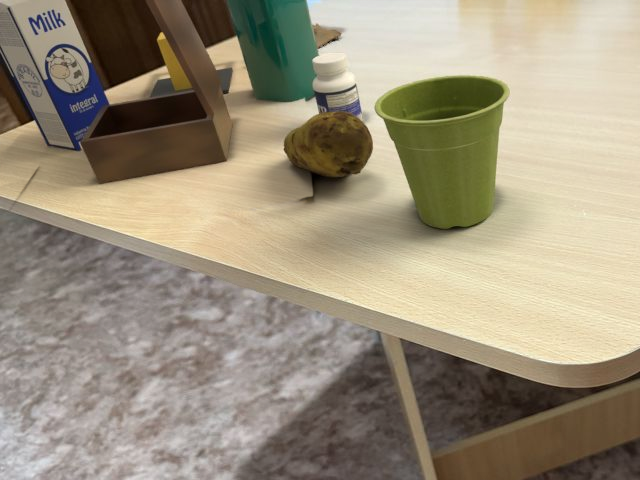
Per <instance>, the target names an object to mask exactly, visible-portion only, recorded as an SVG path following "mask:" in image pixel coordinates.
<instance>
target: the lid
mask: <svg viewBox="0 0 640 480" xmlns="http://www.w3.org/2000/svg"><path fill="white" fill-rule="evenodd" d="M145 2H146V4H147V6H148V8H149V10H150V12H151V13H152V15H153V17H154V19H155V21H156V22H157V25H158V27H159V28H160V30H161V32H163V34H164V36H165V38H166V39H167V41H168V43H169V45H170V47H171V49H172V51H173V52H174V54H175V56H176V58H177V60H178V62H179V64H180V65H181V67H182V69H183V71H184V73H185V75H186V77H187V78H188V80H189V82H190V84H191V86H192V88H193V90H194V91H195V93H196V95H197V97H198V99H199V101H200V103H201V104H202V106H203V108H204V110H205V112H206V114H207V116H210V115H213V114H214V113H215V109H216V104H217V100H218V95H219V91H220V87H221V82H222V80H221V78H220V76H219V74H218V72H217V70H218V69H216V66H215V64H214V62H213V61H212V58H211V57H210V55H209V52H208V50H207V49H206V47H205V44H204V42H203V40H202V39H201V37H200V35H199V33H198V30H197V29H196V26H195V25H194V23H193V21H192V19H191V16H190V15H189V13H188V11H187V9H186V7H185V5H184V4H183V1H182V0H145Z"/></svg>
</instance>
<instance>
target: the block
mask: <svg viewBox="0 0 640 480" xmlns="http://www.w3.org/2000/svg"><path fill="white" fill-rule="evenodd" d="M156 41H157V45H158V47H159V50H160V53H161V55H162V58H163V61H164V64H165V66H166V69H167V72H168V76H169V78H171V80H172V83H173V86H174V89H175V91H179V90H185V89H191V88H192V86H191V84H190V82H189V80H188V78H187V77H186V75H185V73H184V71H183V69H182V67H181V65H180V64H179V62H178V60H177V58H176V56H175V54H174V52H173V51H172V49H171V47H170V45H169V43H168V41H167V39H166V38H165V36H164V34H163V32H162V31H161V32H160V33H159V34H158V36H157V39H156Z"/></svg>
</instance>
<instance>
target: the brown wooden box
mask: <svg viewBox="0 0 640 480" xmlns="http://www.w3.org/2000/svg"><path fill="white" fill-rule="evenodd" d="M233 127H234V125H233V121H232V118H231V115H230V112H229V108H228V105H227V102H226V99H225V96H224V94H223V93H222V90H221V87H220V91H219V95H218V100H217V104H216V109H215V113H214V114H213V115H210V116H207V114H206V112H205V110H204V108H203V106H202V104H201V103H200V101H199V99H198V97H197V95H196V93H195V91H194V90H192V91H186V92H180V93H174V94H168V95H162V96H157V97H151V98H149V97H145V98H139V99H134V100H127V101H122V102H115V103H109V105H103V106H102V107H101V109H100V111H99V112H98V114H97V115H96V117H95V119H94V120H93V122H92V124H91V125H90V127H89V128H88V130H87V132H86V133H85V135H84V136H83V138H82V140H81V142H80V144H81V146H82V148H83V150H82V151H83V153H84V154H85V157H86V158H87V160H88V163H89V165H90V167H91V169H92V171H93V173H94V176H95V178H96V180H97V182H98V185H104V184H109V183H115V182H121V181H127V180H131V179H132V180H133V179H139V178H143V177H148V176H154V175H159V174H165V173H166V174H167V173H170V172H176V171H183V170H187V169H188V170H189V169H193V168H199V167H205V166H208V165H209V166H210V165H215V164H221V163H222V164H223V163H226V162H228V157H229V151H230V144H231V138H232V132H233Z"/></svg>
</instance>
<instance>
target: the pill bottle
mask: <svg viewBox="0 0 640 480" xmlns="http://www.w3.org/2000/svg"><path fill="white" fill-rule="evenodd" d="M312 62H313V67H314V71H315V73H316V74H317V75H318V76H317V77H316V78H315V79H314V81H313V90H314V94H315V96H314V97H315V101H316V105H317V110H318V114H320V113H322V112H330V111H331V112H336V111H346V112H349V113H351V114H353V115H355V116H357V117H358V118H359V119H360V120H361V121H362V122H363V123H364V124H365V118H364V114H363V111H362V109H363V108H362V105H361V100H360V94H359V89H358V84H357V79H356V76H355V75H354V74H353V73H352V72H351V71H349V70H347V69H348V68H349V67H348V64H349V63H348V59H347V55H346V54H345V53H343V52H327V53H322V54H319V56H317V57H315V58H314V59H313V60H312ZM365 125H366V124H365Z"/></svg>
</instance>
